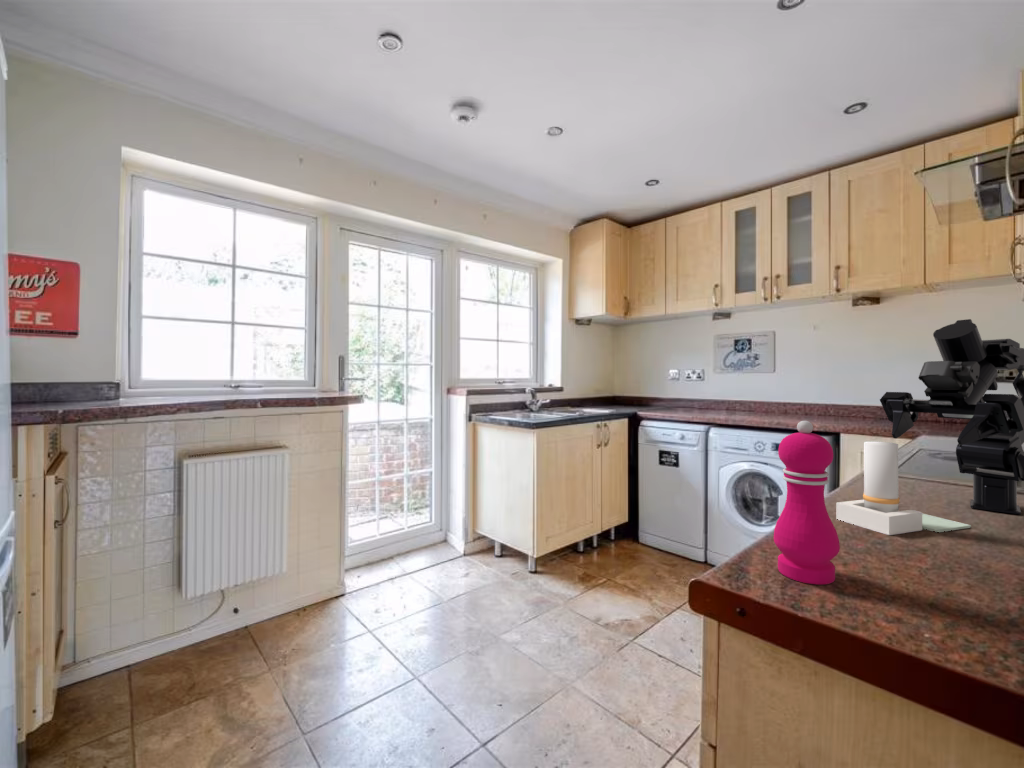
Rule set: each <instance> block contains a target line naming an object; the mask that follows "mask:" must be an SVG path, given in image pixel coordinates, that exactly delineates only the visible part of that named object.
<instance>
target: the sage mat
mask: <svg viewBox="0 0 1024 768" xmlns="http://www.w3.org/2000/svg"><path fill="white" fill-rule="evenodd" d="M971 527H972V525H971V524H967V523H963V522H960V521H959V522H958V521H955V520H951V519H947V518H943V517H939V516H935V515H930V514H927V513H923V512H922V530H926V529H927V530H926V531H930V532H933V531H935V532H934V533H937V532H939V533H944V531H945V532H949V531H951V530H952V531H956V530H963V529H969V528H971Z"/></svg>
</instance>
